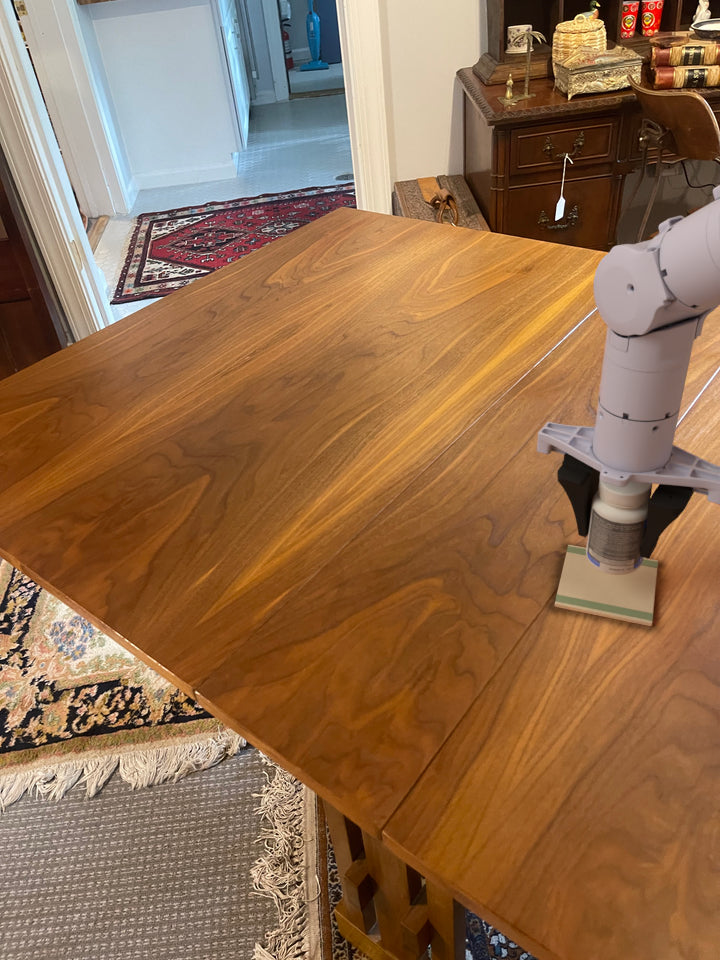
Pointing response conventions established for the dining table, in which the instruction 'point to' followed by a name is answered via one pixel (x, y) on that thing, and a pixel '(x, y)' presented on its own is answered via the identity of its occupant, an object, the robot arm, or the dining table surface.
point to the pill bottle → (618, 527)
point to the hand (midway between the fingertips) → (616, 539)
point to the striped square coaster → (607, 589)
